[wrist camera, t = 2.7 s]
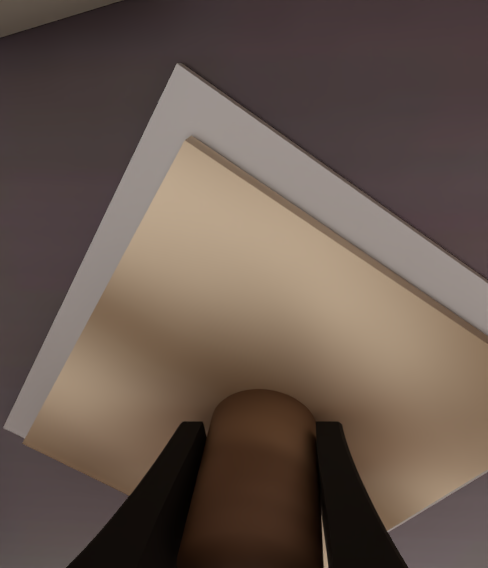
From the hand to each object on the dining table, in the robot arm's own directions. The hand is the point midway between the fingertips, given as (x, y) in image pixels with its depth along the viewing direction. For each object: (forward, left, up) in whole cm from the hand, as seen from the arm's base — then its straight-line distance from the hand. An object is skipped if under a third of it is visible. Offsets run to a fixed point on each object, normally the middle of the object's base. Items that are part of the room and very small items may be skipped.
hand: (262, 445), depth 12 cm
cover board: (0, 0, -1) cm, 1 cm away
